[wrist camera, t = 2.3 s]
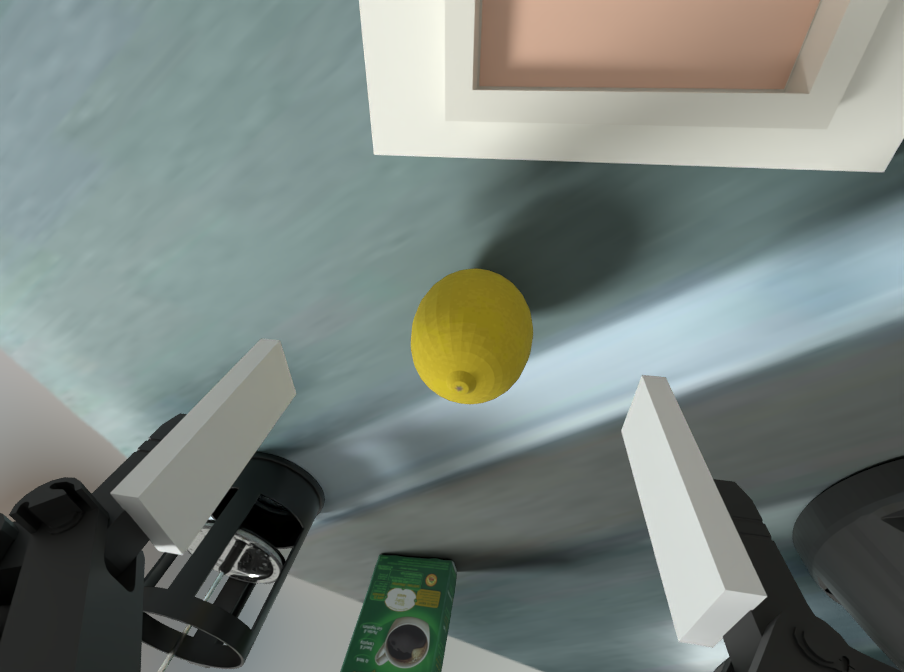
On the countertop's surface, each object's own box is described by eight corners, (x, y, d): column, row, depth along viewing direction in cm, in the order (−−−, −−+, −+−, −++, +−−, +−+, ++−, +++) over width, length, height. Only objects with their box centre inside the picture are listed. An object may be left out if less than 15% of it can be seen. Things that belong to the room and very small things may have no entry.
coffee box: (383, 566, 41) (332, 741, 30) (376, 552, 39) (318, 730, 29) (458, 572, 39) (431, 761, 28) (453, 557, 37) (422, 750, 27)
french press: (219, 434, 33) (-207, 923, 14) (326, 464, 32) (42, 1002, 14) (235, 509, 39) (-36, 908, 20) (324, 534, 39) (133, 959, 20)
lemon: (524, 236, 19) (521, 318, 13) (538, 329, 22) (542, 437, 15) (419, 254, 21) (368, 337, 14) (445, 340, 23) (412, 442, 17)
